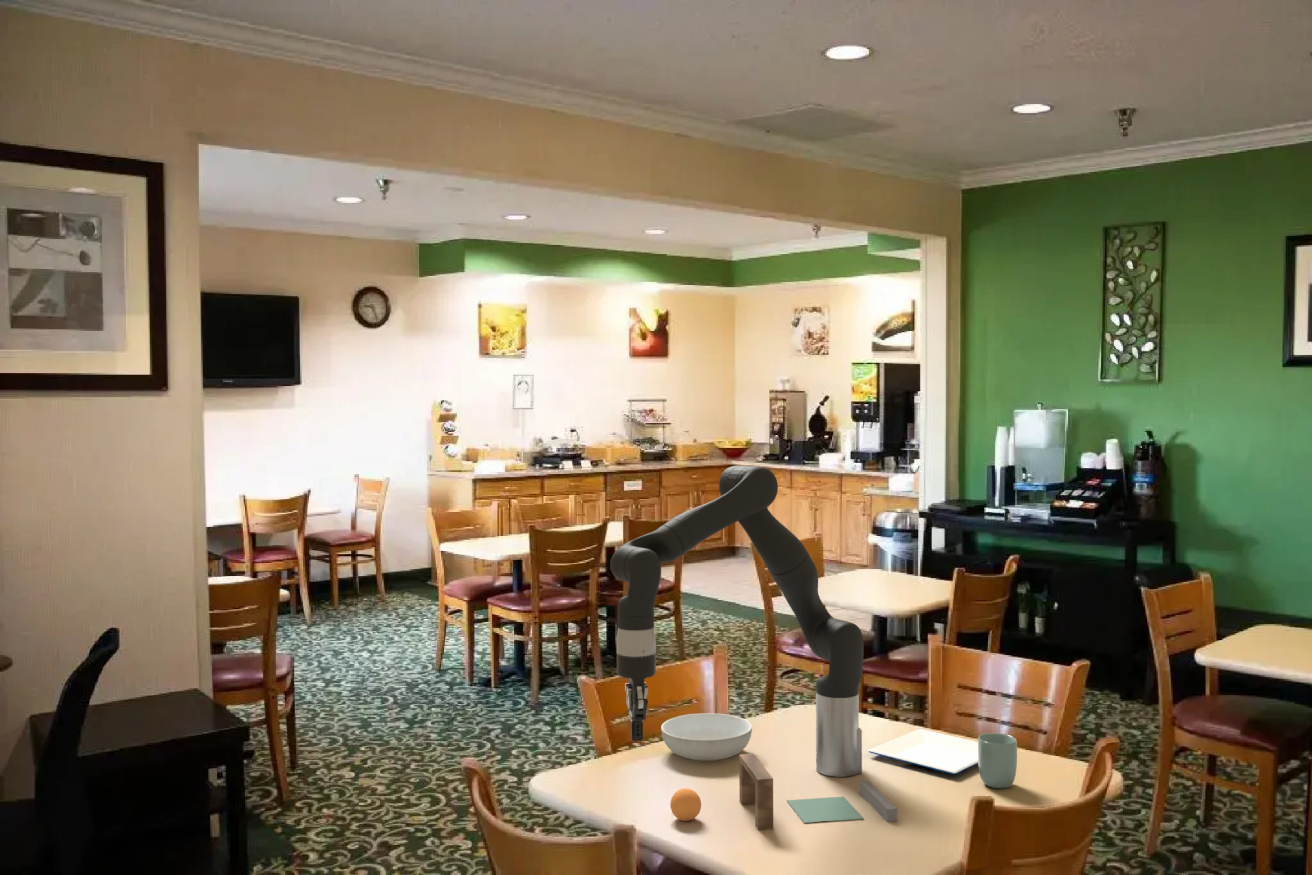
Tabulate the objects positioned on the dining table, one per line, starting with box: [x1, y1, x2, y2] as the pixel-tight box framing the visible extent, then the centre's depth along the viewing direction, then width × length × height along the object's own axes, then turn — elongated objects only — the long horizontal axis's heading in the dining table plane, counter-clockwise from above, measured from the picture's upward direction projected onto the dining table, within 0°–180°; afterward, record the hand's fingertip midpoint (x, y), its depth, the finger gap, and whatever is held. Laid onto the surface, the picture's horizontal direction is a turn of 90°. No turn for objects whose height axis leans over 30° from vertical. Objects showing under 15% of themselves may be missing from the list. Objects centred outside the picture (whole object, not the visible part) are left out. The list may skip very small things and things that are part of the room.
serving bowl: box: [660, 712, 753, 762], centre depth 255 cm, size 21×21×7 cm
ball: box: [669, 787, 702, 822], centre depth 216 cm, size 6×6×6 cm
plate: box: [867, 728, 978, 775], centre depth 253 cm, size 22×22×2 cm
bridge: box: [738, 753, 774, 831], centre depth 218 cm, size 3×15×10 cm, turn 9°
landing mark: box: [786, 796, 865, 824], centre depth 220 cm, size 12×12×1 cm
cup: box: [977, 732, 1018, 789], centre depth 234 cm, size 8×8×10 cm
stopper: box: [858, 779, 898, 823], centre depth 222 cm, size 2×16×2 cm, turn 9°
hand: (636, 739), depth 214 cm, fingers closed
